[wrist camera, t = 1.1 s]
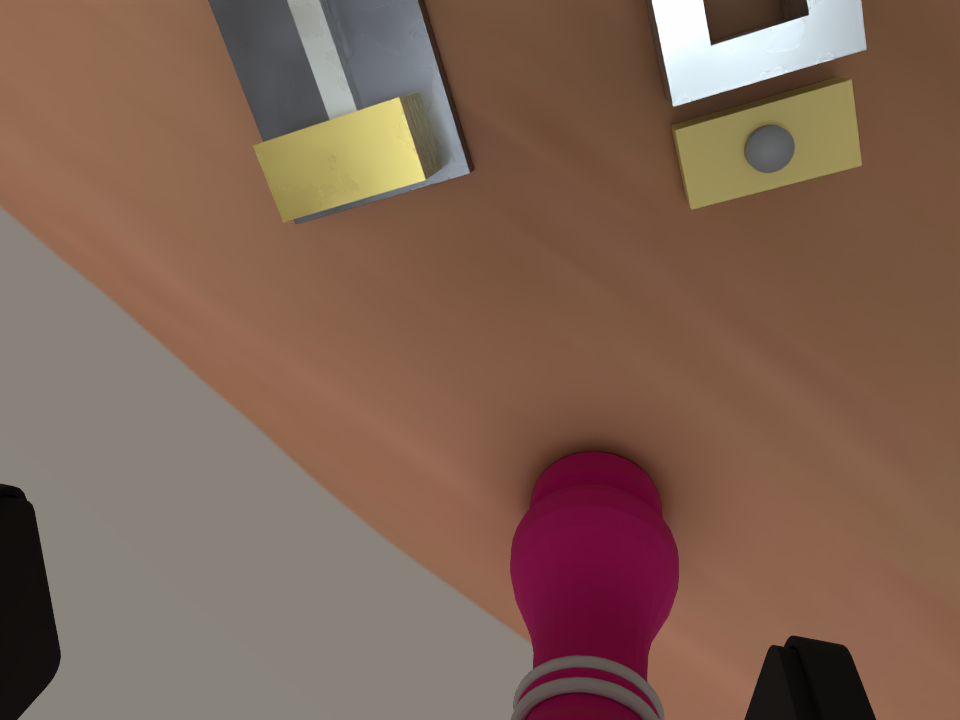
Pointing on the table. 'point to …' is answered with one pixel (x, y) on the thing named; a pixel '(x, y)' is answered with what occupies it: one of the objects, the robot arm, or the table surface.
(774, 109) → the block
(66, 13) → the table surface
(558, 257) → the table surface
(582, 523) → the pepper mill
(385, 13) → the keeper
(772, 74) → the link
